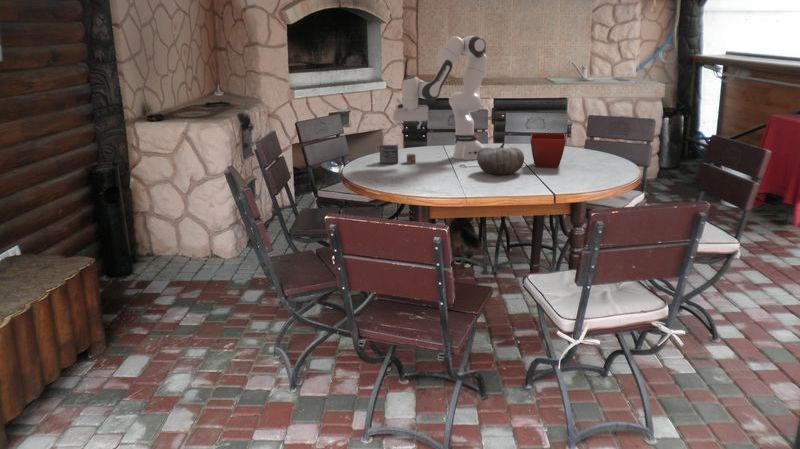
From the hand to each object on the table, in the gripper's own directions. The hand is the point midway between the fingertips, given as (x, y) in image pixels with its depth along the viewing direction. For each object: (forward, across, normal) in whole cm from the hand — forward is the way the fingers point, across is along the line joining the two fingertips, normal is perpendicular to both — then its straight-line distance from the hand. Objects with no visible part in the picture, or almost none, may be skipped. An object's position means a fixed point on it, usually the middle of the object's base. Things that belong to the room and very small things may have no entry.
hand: (410, 128), depth 404 cm
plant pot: (+20, -77, +16) cm, 81 cm away
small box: (+20, +13, -1) cm, 24 cm away
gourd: (+20, -47, +34) cm, 62 cm away
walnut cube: (+20, 0, 0) cm, 20 cm away
